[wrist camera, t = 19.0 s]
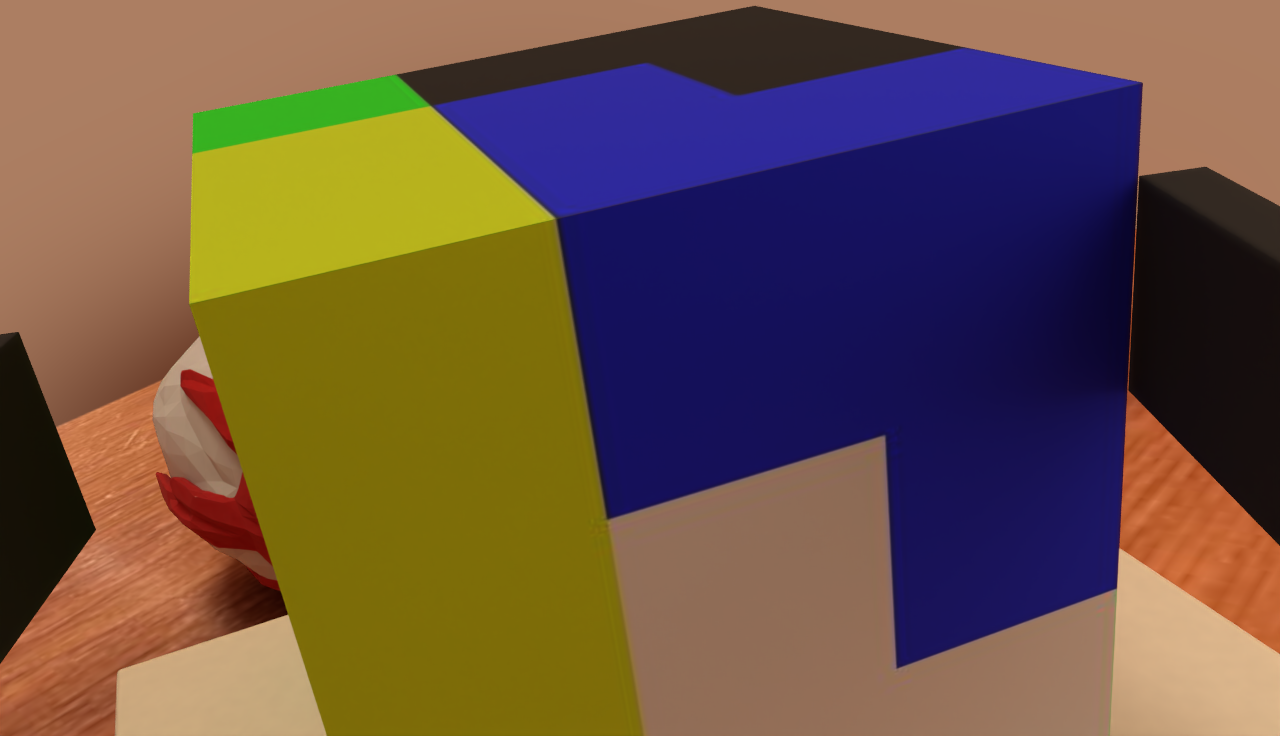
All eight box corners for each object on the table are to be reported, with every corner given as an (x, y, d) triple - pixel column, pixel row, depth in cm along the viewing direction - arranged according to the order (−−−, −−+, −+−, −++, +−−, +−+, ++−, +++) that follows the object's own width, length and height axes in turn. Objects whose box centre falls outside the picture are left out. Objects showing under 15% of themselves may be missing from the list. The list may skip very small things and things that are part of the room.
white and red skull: (485, 394, 44) (643, 646, 32) (179, 482, 41) (231, 801, 29) (447, 173, 40) (617, 371, 28) (98, 250, 36) (120, 516, 24)
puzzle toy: (1107, 777, 17) (1142, 82, 13) (429, 1056, 14) (189, 303, 10) (795, 473, 25) (754, 6, 21) (341, 614, 23) (193, 113, 19)
